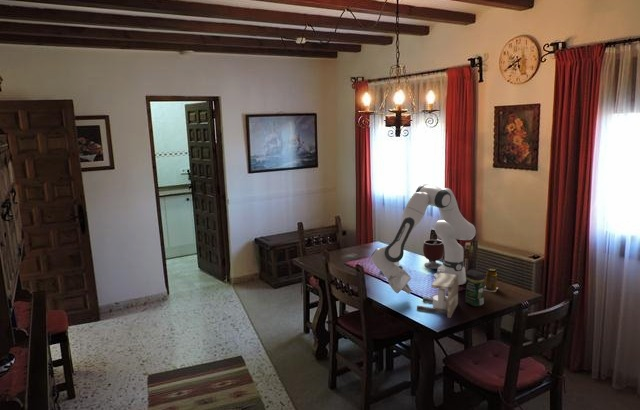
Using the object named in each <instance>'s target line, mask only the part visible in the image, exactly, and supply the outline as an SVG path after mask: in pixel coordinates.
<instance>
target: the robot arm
mask: <svg viewBox="0 0 640 410" xmlns="http://www.w3.org/2000/svg"><path fill="white" fill-rule="evenodd" d="M428 206H432V207H436V208H437V209H438V211H439V214H440V217H441V219H439V220H437V221H436V222H435V224H434V231H435V234H436V235H437V236H438V237H439V238H440V241H442V242H443V245H444V258H443V259H442V261H443V262H442V263H441V264H442V265H441V266H440V267H438V268H437V271H436V273H433V277H434V278H435V279H436V278H437V277H438V275H439V274H440V273H445V274H454V275H458V286H460V285H462V286H463V285H464V284H466V283H467V281H466V273H467V272H466V268H465V261H464V260H465V259H464V248H463V246H462V245H461V244H460V243H458V241H457V240H460V241H461V240H462V241H470V240H473V239H474V237H475V236H476V232H477V231H476V227H475V225H474V224H473V223H471V222H469V221H468V219H466V218H465V217H464V216H463V215H462V213H461V211H460V209H459V205H458V201H457V199H456V196H455V195H454V192H453V190H452V189H451V188H448V187H442V188H441V187H438V186H433V185H429V184H421V185H419V186H418V187H417V188H416V190H415V192H414V193H413V195H412V196H411V197H410V198H409V200H408V202H407V204H406V205H405V207H404V210H403V213H402V216H401V223H400V227H399V228H398V230H397V233H396V235H395V237H394V239H393V240H392V241H391V243H389V244H388V245H387V246H383V247H377V248H375V250H374V251H373V252H372V254H371V256H370V260H371V262H372V263H373V264H374V266H375V268H377V269H378V270H379V271H380V272H381V273H382V275H383V276H384V277H386V279H387V281H388V285H389V287H390V288H391V289H392V291H394V293H396V294H399V293H400V292H401V291H402V290H403V291H404V292H406V294H408V295H409V294H411V292H412V289H411V287H410V285H409V284H408V283H409V282H410V281H411V279H412V277H411V276H410V275H409V273H408V272H407V271H406V270H405V269H404V267H403V266H402V265H399V266H396V265H395V263H394V262H398V261H399V262H400V261H401V260H403V257H404V251H405V249H404V248H405V245H406V243H407V240H408V238H409V236H410V234H411V232H412V231H413V230H414V229H415V228H416V227H417V226H418V225H419V224H420V223H421V221H422V219H423V218H424V215H425V213H426V212H427V210H428Z"/></svg>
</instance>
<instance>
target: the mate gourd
mask: <svg viewBox="0 0 640 410" xmlns="http://www.w3.org/2000/svg"><path fill="white" fill-rule="evenodd" d="M422 248H423V250H422V251H423V255H424V257H425V258H426V259H427V260H429V261H428V262H425V263H424V264H423V265H424V267H425V268H428V269H438V267H440V266H441V265H442V264H443V263H440V262H437V261H439V260H441V259H442V257H443V256H444V253H445V248H444V244H443V242H442V240H438V239H428V240H427V239H425V240H424V241H423V247H422Z"/></svg>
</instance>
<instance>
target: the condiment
mask: <svg viewBox="0 0 640 410" xmlns="http://www.w3.org/2000/svg"><path fill="white" fill-rule="evenodd" d="M497 284H498V274H497V269H495V268H487V270H486V274H485V286H483V291H486V292H492V293H496V292H497V290H498V289H499V287H498V286H497Z"/></svg>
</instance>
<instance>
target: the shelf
mask: <svg viewBox="0 0 640 410" xmlns="http://www.w3.org/2000/svg"><path fill="white" fill-rule="evenodd" d="M431 288H432V289H445V291H447V296H448V310H443V309H437V308H433V307H431V306H430V307H429V306H424V305H416V310H417V311H424V312H429V313H435V314H441V315H446V316H447V318H449V319H451V318H452V316H453V314H454V312H455V310H456V308H457V306H458V304H459V285H458V275H454V274H445V273H440V274H439V275H438V277H437V278H435V279H434V281H433V282H432V284H431ZM422 302H423V303H430V304H433V298H432V297H431V298H430V297H422Z"/></svg>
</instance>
